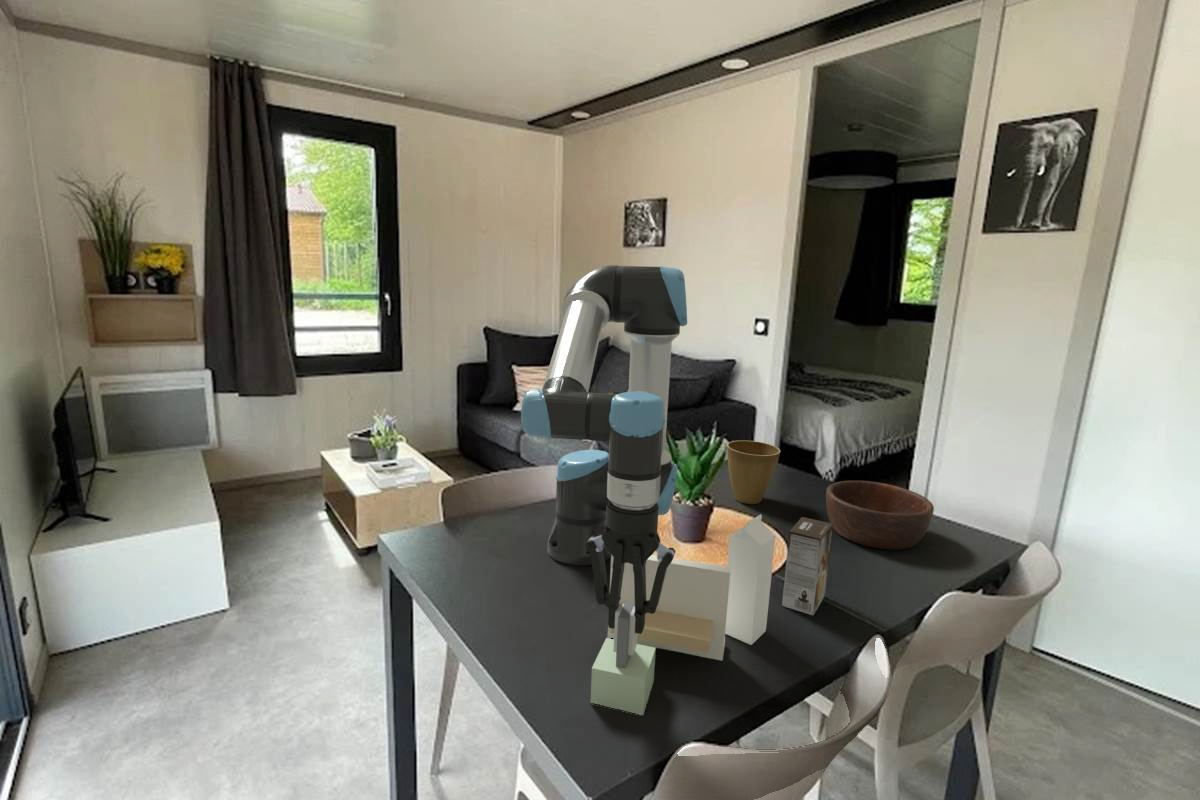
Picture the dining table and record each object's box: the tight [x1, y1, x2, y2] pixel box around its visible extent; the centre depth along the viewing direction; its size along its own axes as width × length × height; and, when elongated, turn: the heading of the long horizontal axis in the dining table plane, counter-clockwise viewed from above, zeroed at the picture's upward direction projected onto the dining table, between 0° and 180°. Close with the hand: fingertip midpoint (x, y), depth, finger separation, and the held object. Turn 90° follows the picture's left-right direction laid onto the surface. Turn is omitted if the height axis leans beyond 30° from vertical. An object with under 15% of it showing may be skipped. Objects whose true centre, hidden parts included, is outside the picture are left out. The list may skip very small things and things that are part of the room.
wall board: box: [607, 554, 731, 661], centre depth 102 cm, size 20×10×16 cm, turn 74°
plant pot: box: [726, 440, 781, 505], centre depth 175 cm, size 15×15×16 cm
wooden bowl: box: [825, 480, 935, 551], centre depth 155 cm, size 25×25×10 cm
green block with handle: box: [590, 600, 657, 716], centre depth 91 cm, size 8×8×14 cm
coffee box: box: [781, 516, 834, 616], centre depth 120 cm, size 9×6×16 cm
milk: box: [725, 514, 776, 646], centre depth 108 cm, size 6×6×22 cm
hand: (625, 648), depth 91 cm, fingers closed on green block with handle, 1 cm apart
